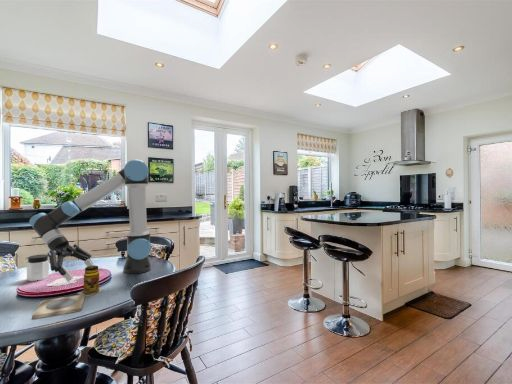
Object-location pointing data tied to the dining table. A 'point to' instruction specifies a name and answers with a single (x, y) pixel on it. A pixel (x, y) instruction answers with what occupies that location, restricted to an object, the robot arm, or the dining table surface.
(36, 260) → the jar
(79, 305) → the board
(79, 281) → the dining table surface
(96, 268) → the condiment
